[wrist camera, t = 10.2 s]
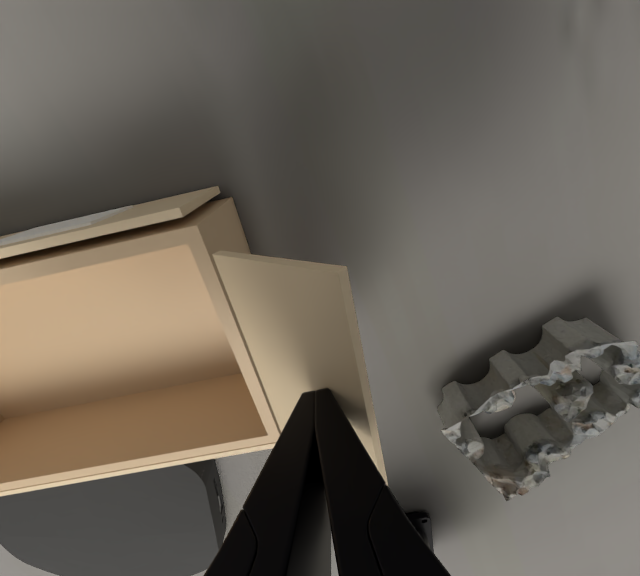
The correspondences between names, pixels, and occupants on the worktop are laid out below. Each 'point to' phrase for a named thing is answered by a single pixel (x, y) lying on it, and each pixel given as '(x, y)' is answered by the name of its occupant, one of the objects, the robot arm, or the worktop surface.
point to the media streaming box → (120, 523)
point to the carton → (124, 346)
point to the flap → (302, 335)
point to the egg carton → (558, 390)
